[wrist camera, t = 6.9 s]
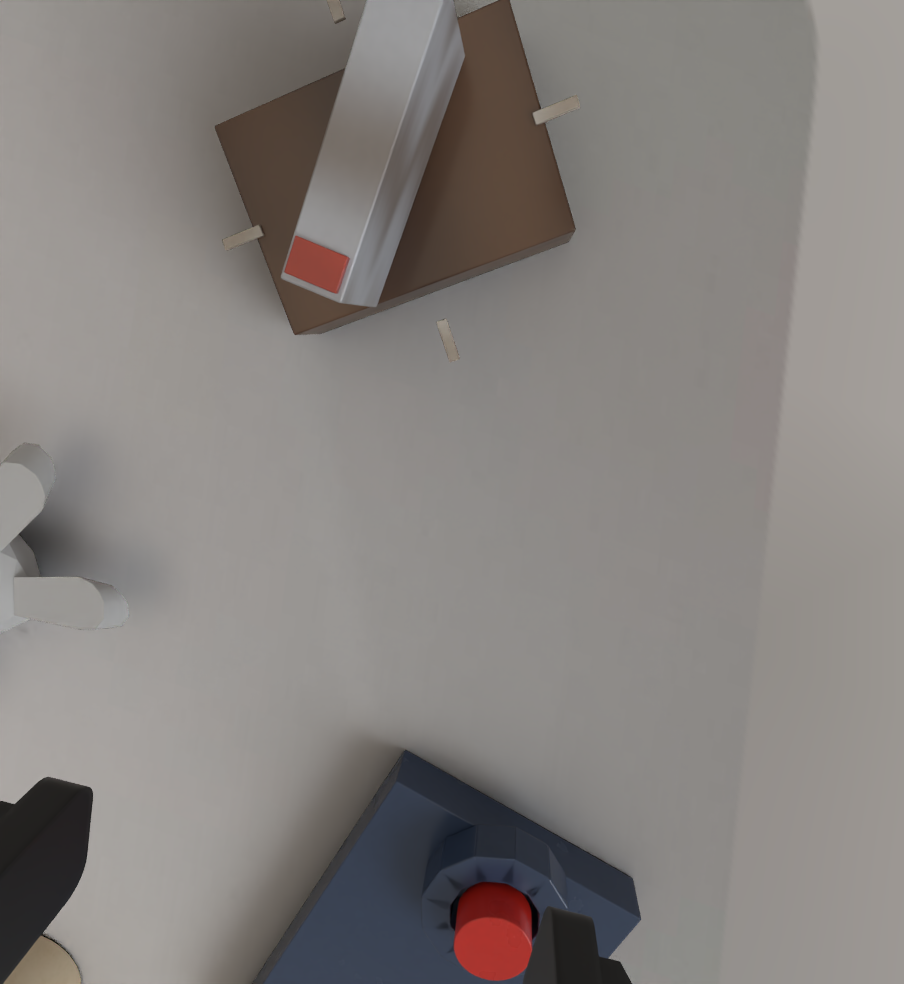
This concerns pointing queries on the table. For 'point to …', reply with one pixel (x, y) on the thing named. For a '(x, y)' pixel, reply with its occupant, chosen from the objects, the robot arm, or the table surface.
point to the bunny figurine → (12, 564)
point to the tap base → (442, 191)
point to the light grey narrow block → (375, 148)
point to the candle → (45, 966)
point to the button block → (436, 886)
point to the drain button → (493, 931)
